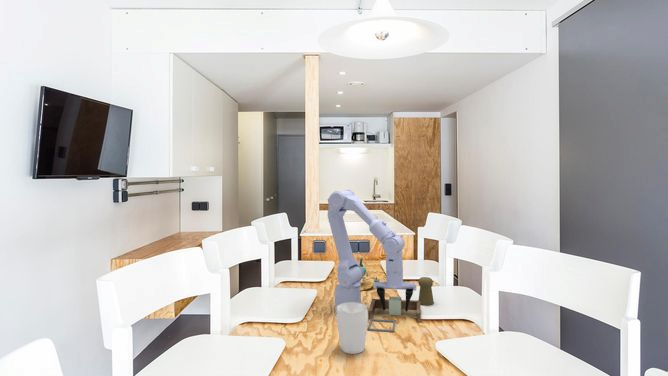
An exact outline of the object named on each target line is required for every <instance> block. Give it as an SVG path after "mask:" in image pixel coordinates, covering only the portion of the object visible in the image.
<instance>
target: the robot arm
mask: <svg viewBox="0 0 668 376" xmlns="http://www.w3.org/2000/svg"><path fill="white" fill-rule="evenodd" d="M327 202H328V208H327V220H328V223H329V226H330V230H331V234H332V239H333V241H334V245H335V248H336V249H335V250H336V252H337V253H336V254H337V258H338V264H337V267H336V270H337V277H336V278H337V282H338V284H336V285H335V289H334V312H336V313H337V306H338V305H340V304H342V303H347V302H357V303H362V292H361V291H362V290H361V282H362V280H363V279H364V278H363V277H364V276H363V270H362V268H361V267H360V266H359V264H360V262H359V260H357V259H356V258H355V257H354V254H353V249H352V245H351V243H350V238H349V236H348V235H349V234H348V232H347V227H346V224H345V219H344V216H345V214H346V213H347V211H353V212H354V213H355V214H356V215H357V216H358V217H359V218H361V220H363V221H364V223H366V224H367V225H368V228H369V232H370V233H371V234H372V235H373V237H375V238H376V239H377V241H378V242H380V244H381V246H382V249H383V251H384V253H385V276H386V281H380V282H374V281H373V283H374V287H373V290H376V294H377V296H378V299H380V300H381V303H382V307H383V310H385V299H386V296H385V295H386V292H385V291H386V289H387V290H405V293H404V294H405V300H406V308H405V310H406V311H408V305H409V302H410V300H412V297H413V294H414V291H417V283H414V282H413V283H412V282H405V281H404V265H403V264H404V263H403V262H404V261H403V258H404V257H403V249H404V248H405V244H406V243H405V240H404V238H403V236H401V235H399V234H396V232H395V231H393V230H392V229H391V228H390V227H389V226H388V225H387V222H386V221H385V220H383V219H376V217H375V216H374V215H373V214H372V212H370V211H369V209H368V207H366V206H365V203H364V204H363V202H362V201H361V200H360V197H359V195H357V194H355V192H354V191H352V190H351V189H345V190H337V191H336V190H335V191H333V192H332V193H331V194H330V195H329V197H328V199H327Z"/></svg>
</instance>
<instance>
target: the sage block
mask: <svg viewBox="0 0 668 376" xmlns="http://www.w3.org/2000/svg"><path fill="white" fill-rule="evenodd" d="M388 299H389V315H401V312H402V308H401V300H402V297H401V296H389V298H388Z"/></svg>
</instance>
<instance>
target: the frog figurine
mask: <svg viewBox="0 0 668 376" xmlns="http://www.w3.org/2000/svg"><path fill="white" fill-rule="evenodd" d="M359 266H360V267H361V268H362V270H363V278H362V281H361V291H366V290H369V289H371V288H374V282H381V281H380V280H379V278H378V276H375V278H374V277H373V276H371V277H370V278H367V279H366V278H365V276H366V277H368V276H369V275H368V273H367V269H366V267H365V266H364V264H363V257H360V258H359ZM364 279H365V280H364ZM370 279H374V281H369V280H370Z"/></svg>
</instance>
